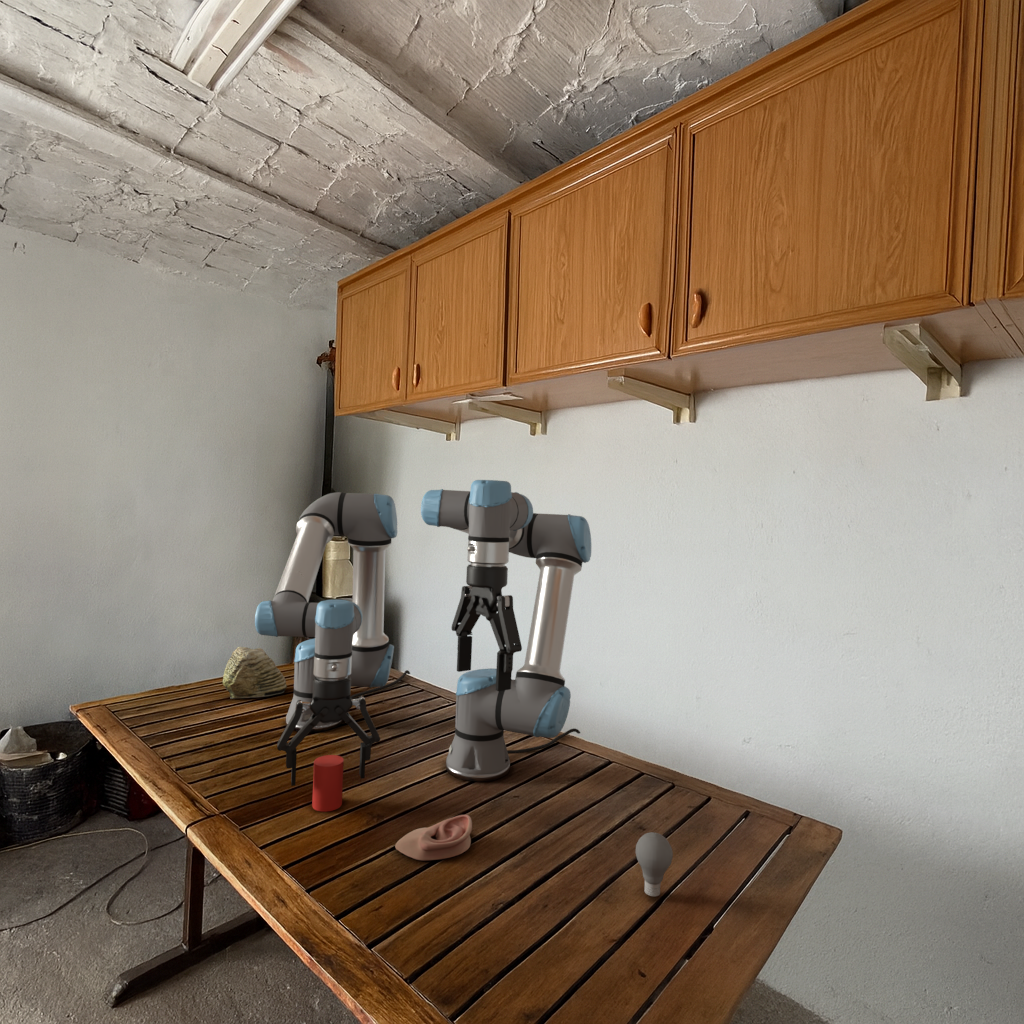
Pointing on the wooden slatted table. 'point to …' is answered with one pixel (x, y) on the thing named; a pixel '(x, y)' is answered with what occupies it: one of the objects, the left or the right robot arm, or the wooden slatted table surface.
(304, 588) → the left robot arm
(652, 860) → the light bulb
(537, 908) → the wooden slatted table surface
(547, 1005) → the wooden slatted table surface
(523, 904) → the wooden slatted table surface
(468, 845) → the anatomical model
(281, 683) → the fossil
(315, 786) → the canister
